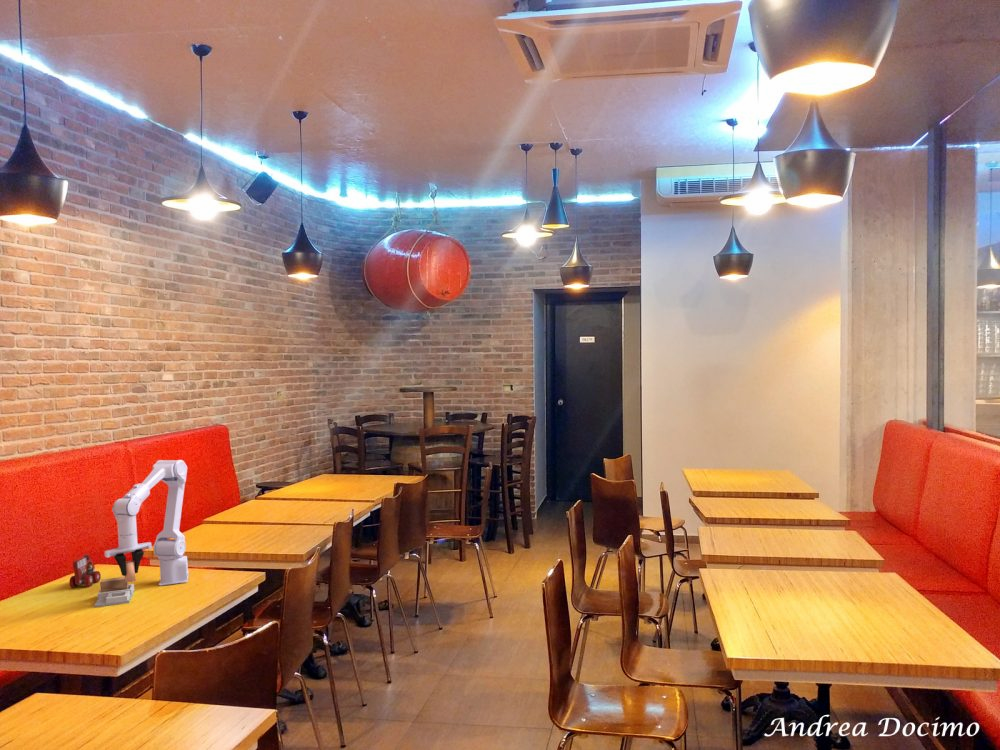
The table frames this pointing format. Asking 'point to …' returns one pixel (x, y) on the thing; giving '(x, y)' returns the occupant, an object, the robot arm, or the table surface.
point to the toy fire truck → (84, 572)
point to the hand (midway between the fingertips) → (129, 573)
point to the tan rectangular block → (113, 584)
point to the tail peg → (130, 571)
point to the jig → (114, 597)
